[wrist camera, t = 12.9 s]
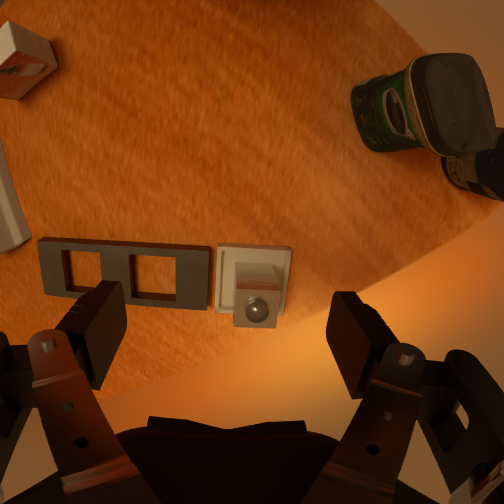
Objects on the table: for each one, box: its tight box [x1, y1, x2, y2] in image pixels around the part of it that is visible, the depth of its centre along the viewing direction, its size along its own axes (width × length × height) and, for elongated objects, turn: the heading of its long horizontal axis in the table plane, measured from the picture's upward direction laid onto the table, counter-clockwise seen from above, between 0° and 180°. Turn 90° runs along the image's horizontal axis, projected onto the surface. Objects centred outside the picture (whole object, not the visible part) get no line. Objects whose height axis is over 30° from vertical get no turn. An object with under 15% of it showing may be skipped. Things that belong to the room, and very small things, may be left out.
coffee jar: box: [351, 53, 496, 157], centre depth 27 cm, size 10×8×19 cm
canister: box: [443, 128, 504, 202], centre depth 29 cm, size 10×10×18 cm
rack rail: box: [37, 237, 210, 310], centre depth 39 cm, size 8×24×2 cm, turn 85°
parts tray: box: [215, 243, 292, 315], centre depth 41 cm, size 9×9×2 cm
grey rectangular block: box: [233, 262, 281, 328], centre depth 37 cm, size 5×5×9 cm
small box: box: [0, 20, 58, 101], centre depth 25 cm, size 8×6×10 cm
